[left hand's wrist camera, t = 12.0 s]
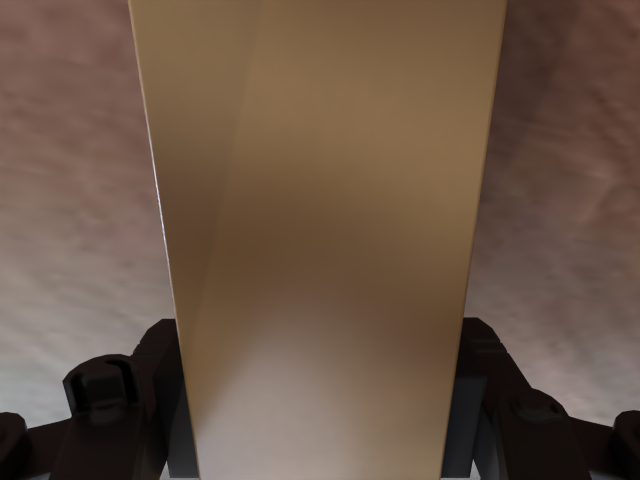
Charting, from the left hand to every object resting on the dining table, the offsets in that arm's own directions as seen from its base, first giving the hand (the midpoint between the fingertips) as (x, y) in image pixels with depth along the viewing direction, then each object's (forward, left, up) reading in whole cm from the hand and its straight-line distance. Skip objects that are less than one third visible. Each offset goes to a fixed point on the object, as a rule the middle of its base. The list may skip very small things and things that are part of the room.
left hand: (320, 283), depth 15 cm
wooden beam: (+20, -22, -1) cm, 29 cm away
